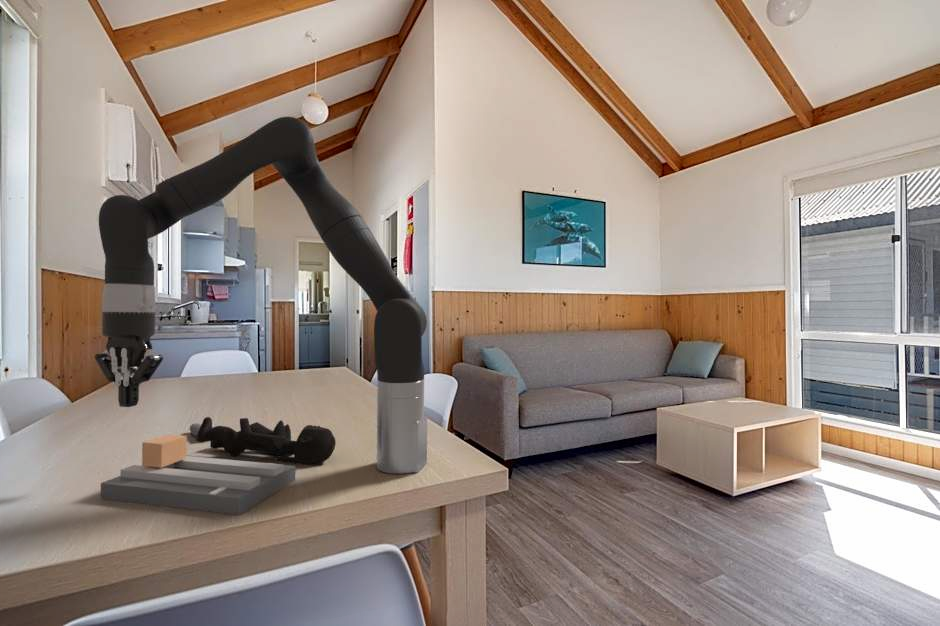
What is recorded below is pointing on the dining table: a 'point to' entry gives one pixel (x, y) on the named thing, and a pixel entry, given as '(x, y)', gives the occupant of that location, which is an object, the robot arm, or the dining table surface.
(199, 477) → the twin slider track
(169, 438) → the block
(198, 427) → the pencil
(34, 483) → the dining table surface
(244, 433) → the figurine
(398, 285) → the robot arm
